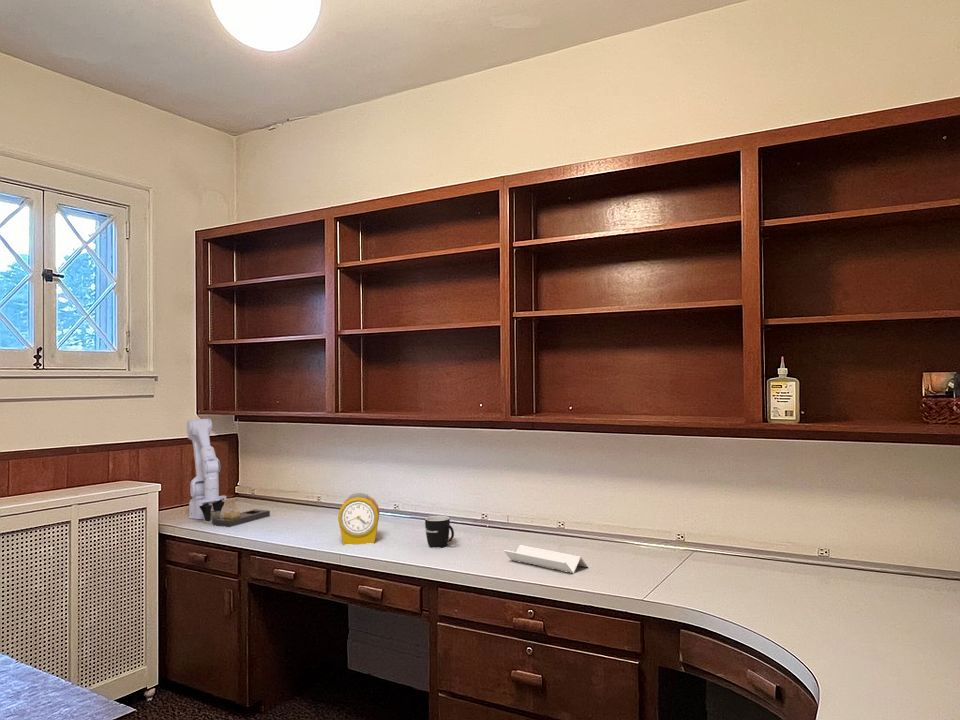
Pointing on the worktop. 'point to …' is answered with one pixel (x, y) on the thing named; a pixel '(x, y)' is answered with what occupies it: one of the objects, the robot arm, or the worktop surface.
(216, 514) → the cube with round knob
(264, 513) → the dark grey socket board
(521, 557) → the z bracket
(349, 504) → the alarm clock
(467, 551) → the worktop surface
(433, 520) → the mug
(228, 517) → the yellow block with knob
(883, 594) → the worktop surface
